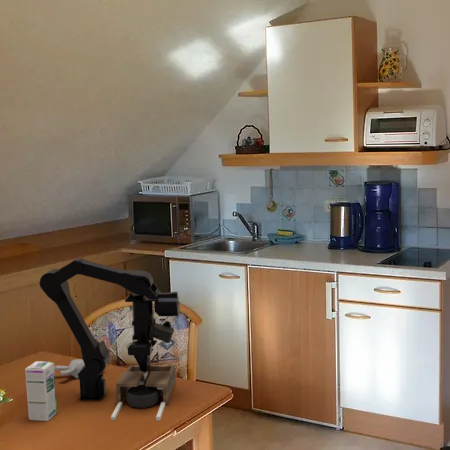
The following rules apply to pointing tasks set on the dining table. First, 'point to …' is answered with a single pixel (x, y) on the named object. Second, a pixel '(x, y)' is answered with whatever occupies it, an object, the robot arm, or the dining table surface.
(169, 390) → the tunnel
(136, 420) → the dining table surface
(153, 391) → the smart speaker
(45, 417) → the syrup box
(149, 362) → the slider
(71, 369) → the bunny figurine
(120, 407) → the rails
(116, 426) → the dining table surface
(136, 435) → the dining table surface
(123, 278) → the robot arm
